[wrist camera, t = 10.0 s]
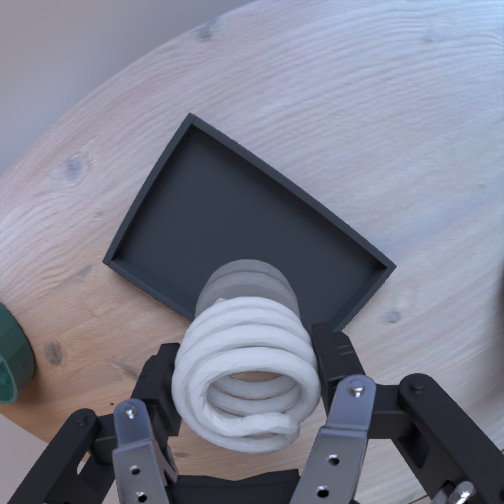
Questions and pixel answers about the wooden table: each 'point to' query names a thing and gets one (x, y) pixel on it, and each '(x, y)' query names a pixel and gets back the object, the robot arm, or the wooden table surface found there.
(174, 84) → the wooden table surface
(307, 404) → the light bulb
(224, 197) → the tray
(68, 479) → the robot arm
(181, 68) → the wooden table surface
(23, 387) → the bowl
